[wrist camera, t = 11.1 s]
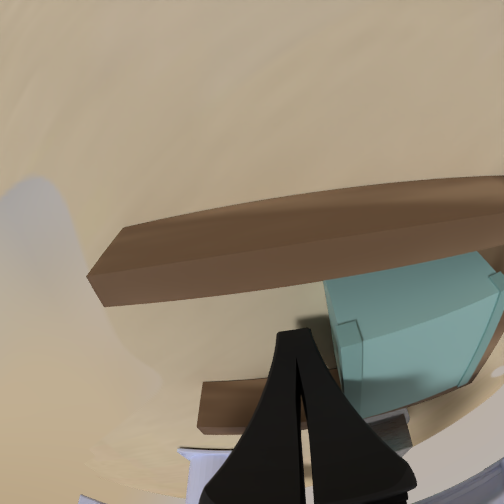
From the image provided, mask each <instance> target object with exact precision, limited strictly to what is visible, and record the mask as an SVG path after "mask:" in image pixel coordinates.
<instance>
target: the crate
mask: <svg viewBox="0 0 504 504" xmlns="http://www.w3.org/2000/svg"><path fill="white" fill-rule="evenodd" d="M323 283H324V289H325V295H326V301H327V307H328V313H329V319H330V326H331V333H332V340H333V347H334V354H335V359H336V364H337V368H338V373H339V378H340V383H341V388H342V392H343V394H344V395H345V396H346V398H347V399H348V401H349V402H350V403H351V405H352V406H353V407H354V409H355V410H356V411H357V412H358V414H359V415H360V416H361V417H362V418H367V417H371V416H374V415H378V414H381V413H384V412H388V411H391V410H394V409H397V408H400V407H403V406H406V405H409V404H412V403H415V402H417V401H420V400H423V399H425V398H428V397H430V396H433V395H435V394H438V393H440V392H443V391H445V390H447V389H450V388H452V387H454V386H456V385H457V388H458V387H460V386H462V385H464V384H466V383H468V381H469V379H470V378H471V376H472V374H473V373H474V371H475V369H476V367H477V366H478V364H479V362H480V360H481V358H482V356H483V354H484V352H485V350H486V349H487V347H488V344H489V342H490V340H491V338H492V336H493V334H494V332H495V330H496V327H497V325H498V323H499V321H500V318H501V316H502V313H503V311H504V275H503V274H502V272H501V271H500V272H498V273H496V271H495V270H494V269H493V268H492V267H491V266H490V265H489V264H488V262H487V261H486V260H485V259H484V258H483V257H482V256H481V255H480V254H479V253H478V252H477V251H474V252H470V253H465V254H461V255H456V256H452V257H447V258H443V259H438V260H433V261H428V262H423V263H418V264H414V265H408V266H403V267H398V268H393V269H388V270H382V271H377V272H371V273H366V274H360V275H354V276H349V277H343V278H337V279H331V280H325V281H323Z"/></svg>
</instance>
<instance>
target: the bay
mask: <svg viewBox="0 0 504 504" xmlns="http://www.w3.org/2000/svg"><path fill="white" fill-rule="evenodd" d="M474 251H477V252H478V253H479V254H480V255H481V256H482V257H483V258H484V259H485V260H486V261H487V262H488V264H489V265H490V266H491V267H492V268H493V269H494V270H495V271H496V273H498V272H500V271H501V272H502V274H503V275H504V176H479V177H460V178H445V179H431V180H419V181H407V182H397V183H387V184H377V185H368V186H360V187H351V188H343V189H335V190H328V191H320V192H313V193H306V194H299V195H292V196H286V197H279V198H273V199H267V200H261V201H255V202H249V203H243V204H237V205H232V206H226V207H221V208H215V209H210V210H205V211H200V212H194V213H189V214H184V215H180V216H175V217H170V218H165V219H160V220H156V221H151V222H147V223H142V224H138V225H133V226H129V227H125V228H123V229H122V230H121V231H120V233H119V234H118V235H117V236H116V238H115V239H114V240H113V241H112V243H111V244H110V245H109V247H108V248H107V249H106V250H105V252H104V253H103V254H102V256H101V257H100V258H99V260H98V261H97V262H96V264H95V265H94V267H93V268H92V269H91V271H90V272H89V273H88V275H87V276H86V277H87V279H88V280H89V282H90V284H91V286H92V288H93V289H94V291H95V293H96V294H97V296H98V298H99V299H100V301H101V303H102V304H103V306H104V307H111V306H123V305H135V304H146V303H156V302H166V301H175V300H185V299H194V298H202V297H211V296H219V295H227V294H235V293H243V292H250V291H258V290H265V289H272V288H279V287H286V286H293V285H299V284H306V283H312V282H318V281H325V280H331V279H337V278H343V277H349V276H354V275H360V274H366V273H371V272H377V271H382V270H388V269H393V268H398V267H403V266H408V265H414V264H418V263H423V262H428V261H433V260H438V259H443V258H447V257H452V256H456V255H461V254H465V253H470V252H474ZM503 332H504V311H503V313H502V316H501V318H500V321H499V323H498V325H497V327H496V330H495V332H494V334H493V336H492V338H491V340H490V342H489V344H488V347H487V349H486V350H485V352H484V354H483V356H482V358H481V360H480V362H479V364H478V366H477V367H476V369H475V371H474V373H473V374H472V376H471V378H470V379H469V381H468V383H466V384H464V385H462V386H460V387H458V388H457V385H456V386H454V387H452V388H450V389H447V390H445V391H443V392H440V393H438V394H435V395H433V396H430V397H428V398H425V399H423V400H420V401H417V402H415V403H412V404H409V405H406V406H403V407H400V408H397V409H394V410H391V411H388V412H384V413H381V414H378V415H382V414H385V413H389V412H393V411H396V410H400V409H403V408H406V407H409V406H413V405H416V404H419V403H422V402H425V401H427V400H430V399H433V398H436V397H438V396H441V395H444V394H446V393H449V392H451V391H454V390H456V389H459V388H461V387H463V386H466V385H468V384H470V383H472V381H473V380H474V379H475V377H476V376H477V374H478V373H479V371H480V370H481V368H482V367H483V365H484V364H485V362H486V361H487V359H488V358H489V356H490V355H491V353H492V351H493V350H494V348H495V346H496V345H497V343H498V341H499V339H500V338H501V336H502V334H503ZM329 371H330V373H331V375H332V377H333V378H334V380H335V381H336V383H337V385H338V386H339V388H340V389H341V391H342V388H341V383H340V378H339V373H338V368H336V369H330V370H329ZM266 381H267V378H264V379H252V380H239V381H222V382H203V385H202V392H201V399H200V407H199V414H198V421H197V428H198V429H199V430H200V431H201V432H202V433H203V434H205V435H240V434H243V433H244V431H245V429H246V427H247V425H248V424H249V422H250V420H251V418H252V416H253V414H254V411H255V409H256V407H257V405H258V402H259V400H260V398H261V395H262V392H263V390H264V387H265V384H266ZM378 415H374V416H378ZM374 416H371V417H374ZM367 418H370V417H367ZM363 419H365V418H363ZM304 429H308V426H307V421H306V416H305V411H304V406H303V401H302V396H301V430H304Z"/></svg>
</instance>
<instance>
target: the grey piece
mask: <svg viewBox="0 0 504 504" xmlns="http://www.w3.org/2000/svg"><path fill="white" fill-rule="evenodd" d="M409 419H410V418H409V414H408V411H407V407H406V408H403V409H400V410H396V411H393V412H389V413H385V414H382V415H378V416H374V417H370V418H365V419H363V420H364V421H365V422H366V423H367V424H368V425H369V426H370V427H371V428H372V430H373V431H374V432H375V433H376V434H377V435H378V436H379V437H380V438H381V439H382V440H383V441H384V442H385V443H386V444H387V445H388V446H389V447H390V448H391V449H392V450H394V451H395V452H396V453H397V454H398V455H399V456H400V457H402V456H403V455H404V454H405V453H406V452H407V451H408V450H409V449H411V448H412V447H413V445H412V441H411V437H410V434H409V430H408V426H407V423H408V422H409Z"/></svg>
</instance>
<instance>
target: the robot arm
mask: <svg viewBox="0 0 504 504" xmlns="http://www.w3.org/2000/svg"><path fill="white" fill-rule="evenodd" d="M301 396H302V401H303V406H304V411H305V416H306V421H307V426H308V433H309V441H310V453H311V465H312V479H313V493H314V504H407V502H406V500H408V493H407V492H408V491H410V490H412V489H414V488H415V487H416V486H417V481H416V478H415V476H414V473H413V471H412V469H411V468H410V466H409V464H408V463H407V462H406V461H405V460H404V459H403V458H402V457H400V456H399V455H398V454H397V453H396V452H395V451H394V450H392V449H391V448H390V447H389V446H388V445H387V444H386V443H385V442H384V441H383V440H382V439H381V438H380V437H379V436H378V435H377V434H376V433H375V432H374V431H373V430H372V428H371V427H370V426H369V425H368V424H367V423H366V422H365V421H364V420H363V418H362V417H361V416H360V415H359V414H358V412H357V411H356V410H355V409H354V407H353V406H352V405H351V403H350V402H349V401H348V399H347V398H346V396H345V395H344V394H343V392H342V391H341V389H340V388H339V386H338V385H337V383H336V381H335V380H334V378H333V377H332V375H331V373H330V371H329V370H328V368H327V366H326V364H325V363H324V361H323V359H322V357H321V355H320V353H319V351H318V348H317V346H316V344H315V341H314V339H313V336H312V333H311V329H309V328H303V329H296V330H289V331H282V332H278V333H277V336H276V346H275V352H274V356H273V361H272V365H271V368H270V371H269V375H268V378H267V381H266V384H265V387H264V390H263V392H262V395H261V398H260V400H259V402H258V405H257V407H256V409H255V411H254V414H253V416H252V418H251V420H250V422H249V424H248V425H247V427H246V429H245V431H244V433H243V434H242V436H241V438H240V440H239V441H238V443H237V444H236V446H235V448H234V449H233V450H197V449H183V448H178V449H177V452H178V453H179V454H181V455H182V456H184V457H185V458H186V459H188V460H189V461H190V468H189V476H188V485H187V494H186V504H306V497H305V482H304V468H303V455H302V442H301ZM78 504H106V503H102V502H100V501H97V500H95V499H92V498H89V497H87V496H84V495H80V498H79V503H78ZM412 504H504V457H503V458H502V459H500V460H499V461H497V462H495V463H494V464H492V465H491V466H489V467H487V468H485V469H484V470H483V471H481V472H480V473H478V474H476V475H475V476H473V477H471V478H469V479H467V480H465V481H463V482H461V483H459V484H457V485H455V486H453V487H451V488H449V489H447V490H444V491H442V492H440V493H438V494H435V495H433V496H431V497H428V498H426V499H423V500H420V501H418V502H415V503H412Z"/></svg>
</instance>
